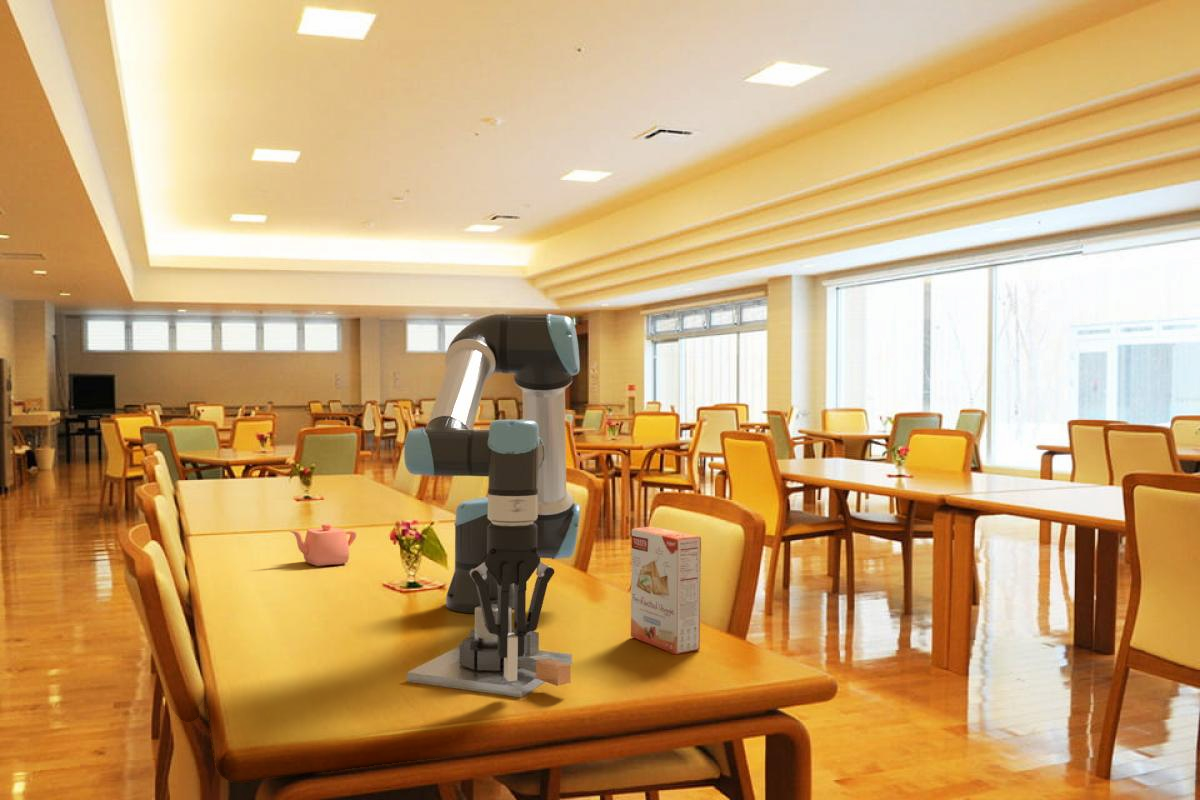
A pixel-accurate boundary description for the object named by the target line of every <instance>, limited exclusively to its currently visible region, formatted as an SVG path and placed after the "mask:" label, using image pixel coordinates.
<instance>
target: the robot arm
mask: <svg viewBox="0 0 1200 800" xmlns="http://www.w3.org/2000/svg"><path fill="white" fill-rule="evenodd" d="M577 335H578V334H577V329H576V326H575V323H574V321H573V320H572V318H571V317H569V316H567V315H557V314H552V313H548V314H504V313H497V314H495V313H494V314H490V315H487V316H483V317H481V318H479V319H477V320H475V321H473V322H471V323H470V324H468V325H466V326H465V327H464V328H463V329H461V330H460V332H458V333H457V334H456V335H455V336H454V338H453V339H452V340H451V342H450V343H449V346H448V347H447V350H446V354H445V357H444V360H445V361H444V363H445V366H446V370H445V373H444V375H443V377H442V381H441V383H440V387H439V390H438V393H437V396H436V398H435V401H434V404H433V407H432V410H431V412H430V414H429V418H428V421H427V424H426V427H420V428H412V429H411V430H409V431H407V434H406V436H405V441H404V445H403V446H404V447H403V448H404V451H403V452H404V453H403V454H404V455H403V456H404V457H403V458H404V465H405V468H406V470H407V471H408V473H409V474H412V475H419V476H429V477H443V476H444V477H466V476H467V477H488V488H487V496H486V497H479V498H472V499H467V500H464V501H462V502H460V503H459V504H458V505H457V506H456V509H455V522H454V526H455V527H454V571H453V575H452V578H451V582H450V584H449V586H448V588H447V589H448V590H447V593H446V596H445V597H446V598H445V607H446V609H448V610H450V611H453V612H458V613H466V614H475V608H476V607H478V606H481V609H482V613H483V618H484V622H485V626H486V629H487V630H488V631H489V633H491V634H496V635H498V655H499V657H500V658H504V677H505V678H506V680H507V681H517V663H518V657H522V656H523V655H524V637H525V636H526V633H528V632H530V631H534V632H536V630H537V629H538V624H539V621H540V616H541V612H542V608H543V604H544V600H545V596H546V591H547V587H548V584H549V582H550V580H552V577H553V576H554V575H555V569H554V568H553V567H552V566H550V565H549V564H545V563H544V562H542V561H541V559H551V560H556V559H568V558H571V557H572V556H573V555H574V553H575V551H576V545H577V539H578V533H579V532H578V531H579V523H580V514H581V505H580V504H577V503H576V502H574V496H573V494H572V493H571V492H570V491H569V490H568V489H567V455H566V454H567V453H566V452H567V449H566V448H567V447H566V444H567V443H566V440H567V437H566V436H567V435H566V434H567V433H566V432H567V431H566V389H567V388H568V387H569V386H570V385H572V383H573V376H576V375H578V374H580V367H581V366H580V365H581V364H580V363H581V362H580V351H579V341H578V336H577ZM493 374H513V376H514V377H513V378H514V379H513V380H514V381H513V382H514V384H515V386H516V387H518V388H519V389H520V390H522V391H521V392H522V394H521V395H522V419H495V420H492V421H491V422H490V424H489V426H488V427H489V429H474V425H475V421H476V420H477V419H476V418H477V414H478V411H479V407H480V403H481V401H482V400H481V399H482V396H483V393H484V388H485V386H486V381H487V380H489V379H490V378H491V377H492V375H493ZM535 571H536V573H535ZM534 573H535V574H536V576H537V578H536V580H535V584H534V587H533V591H532V596H531V600H530V604H529V609H528V613H527V614H526V601H527V600H526V599H527V597H526V594H527V586H528V583H527V582H528V581H529V579H530V578H531V577H532V575H533V574H534ZM491 604H498V609H497V624H495V620H494V616H493V611H492V607H491ZM509 606H510V607H511V608H512V610H513V630H514V631H515V633H508V618H509ZM526 615H527V616H526Z"/></svg>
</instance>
